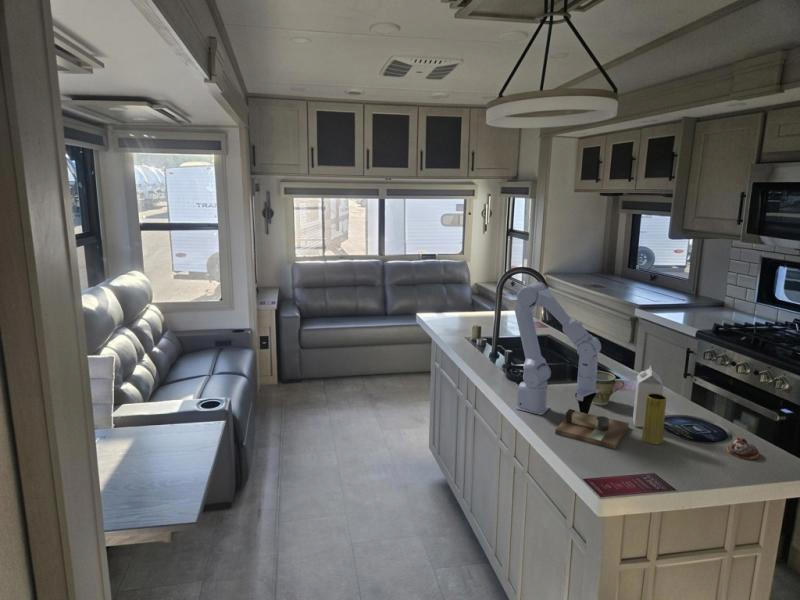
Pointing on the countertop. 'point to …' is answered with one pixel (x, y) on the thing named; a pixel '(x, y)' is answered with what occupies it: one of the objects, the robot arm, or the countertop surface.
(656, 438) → the vase
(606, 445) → the wooden board
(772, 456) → the countertop surface
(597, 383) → the ceramic cup
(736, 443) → the pastry
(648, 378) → the milk carton
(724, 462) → the countertop surface
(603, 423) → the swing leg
